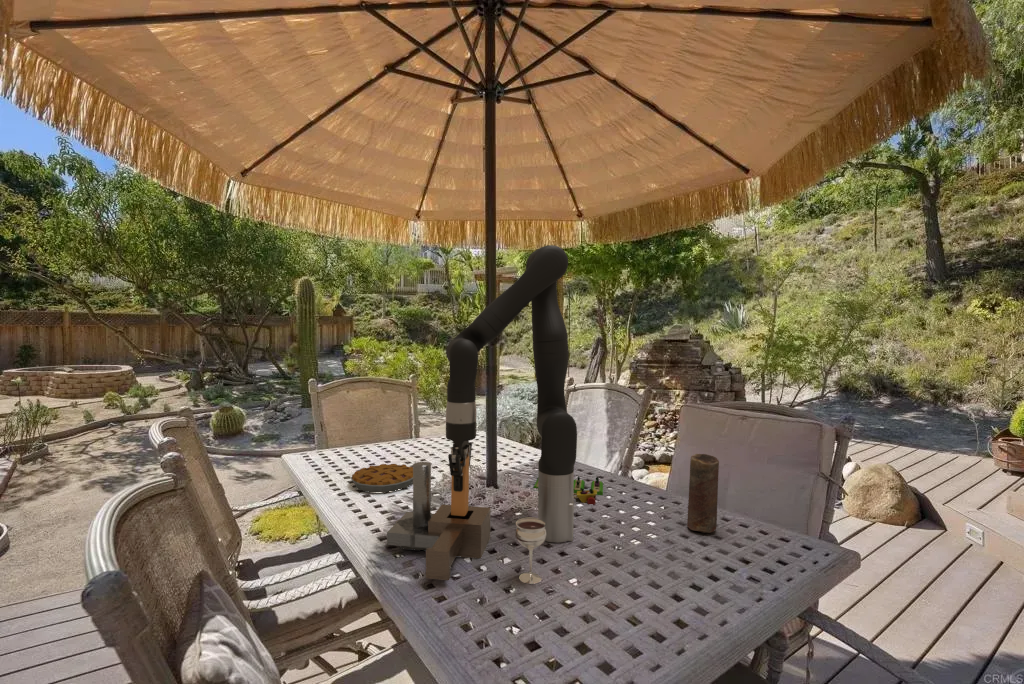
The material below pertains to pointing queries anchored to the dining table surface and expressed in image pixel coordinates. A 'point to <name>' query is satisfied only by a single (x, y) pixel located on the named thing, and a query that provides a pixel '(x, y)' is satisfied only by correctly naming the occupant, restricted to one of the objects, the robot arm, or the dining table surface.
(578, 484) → the toy garden set
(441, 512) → the bracket
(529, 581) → the wineglass
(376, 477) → the pie
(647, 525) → the dining table surface
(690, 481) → the candle
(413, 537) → the metal peg stand
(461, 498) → the orange rectangular block
